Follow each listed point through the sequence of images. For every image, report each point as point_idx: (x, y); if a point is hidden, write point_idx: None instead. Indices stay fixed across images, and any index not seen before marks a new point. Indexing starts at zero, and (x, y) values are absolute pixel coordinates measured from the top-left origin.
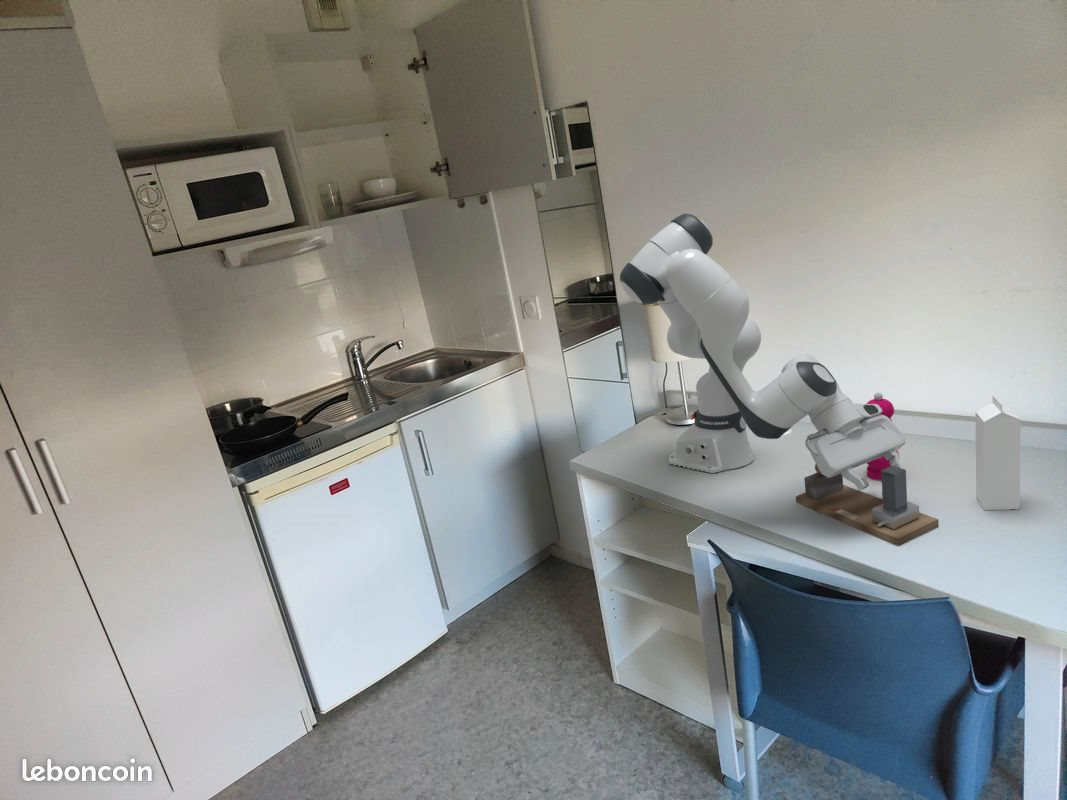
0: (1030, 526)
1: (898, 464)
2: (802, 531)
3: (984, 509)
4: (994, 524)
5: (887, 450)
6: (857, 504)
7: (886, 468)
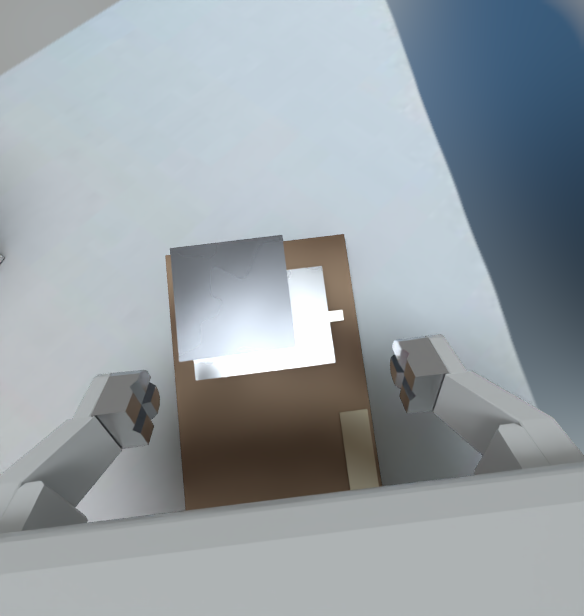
0: (7, 134)
1: (91, 408)
2: None
3: (2, 256)
4: (59, 188)
5: (43, 528)
6: (279, 493)
7: (245, 349)
